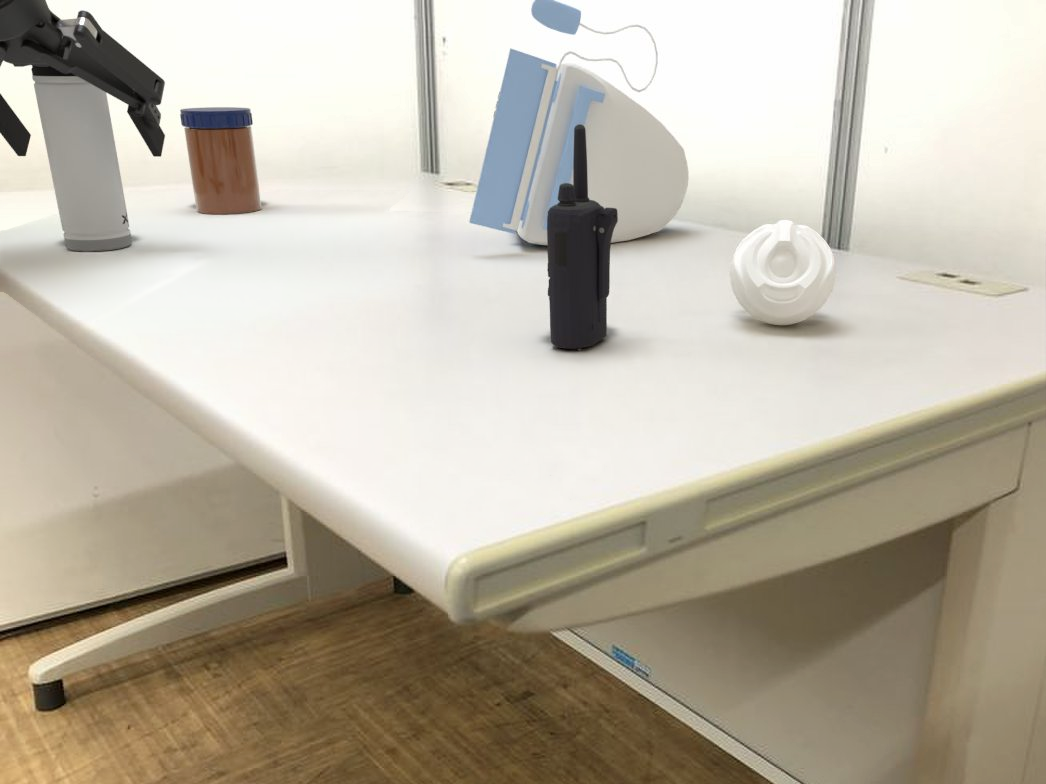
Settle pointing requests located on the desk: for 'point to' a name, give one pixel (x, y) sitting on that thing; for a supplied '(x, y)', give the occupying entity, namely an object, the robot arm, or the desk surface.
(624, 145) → the vintage crt computer
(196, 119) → the jar lid
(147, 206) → the desk surface
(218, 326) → the desk surface
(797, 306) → the motion sensor
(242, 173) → the jar
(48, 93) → the travel mug
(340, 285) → the desk surface
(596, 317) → the two-way radio
